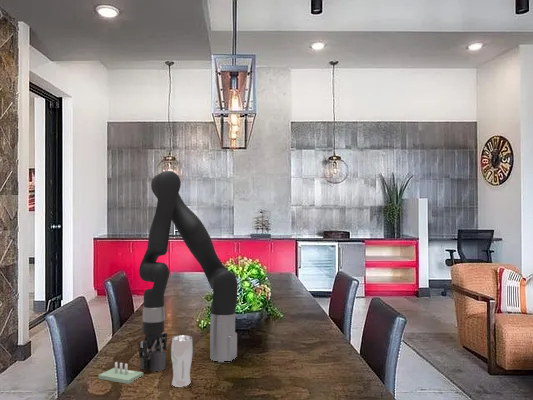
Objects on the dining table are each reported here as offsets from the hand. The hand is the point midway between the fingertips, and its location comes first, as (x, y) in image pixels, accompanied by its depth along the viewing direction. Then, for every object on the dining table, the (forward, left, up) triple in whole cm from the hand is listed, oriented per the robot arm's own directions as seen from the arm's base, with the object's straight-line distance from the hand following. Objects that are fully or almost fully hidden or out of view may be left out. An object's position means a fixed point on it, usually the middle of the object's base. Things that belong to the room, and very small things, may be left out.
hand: (153, 366), depth 173 cm
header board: (+5, +11, -1) cm, 12 cm away
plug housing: (0, 0, -1) cm, 1 cm away
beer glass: (-17, +9, -1) cm, 19 cm away
